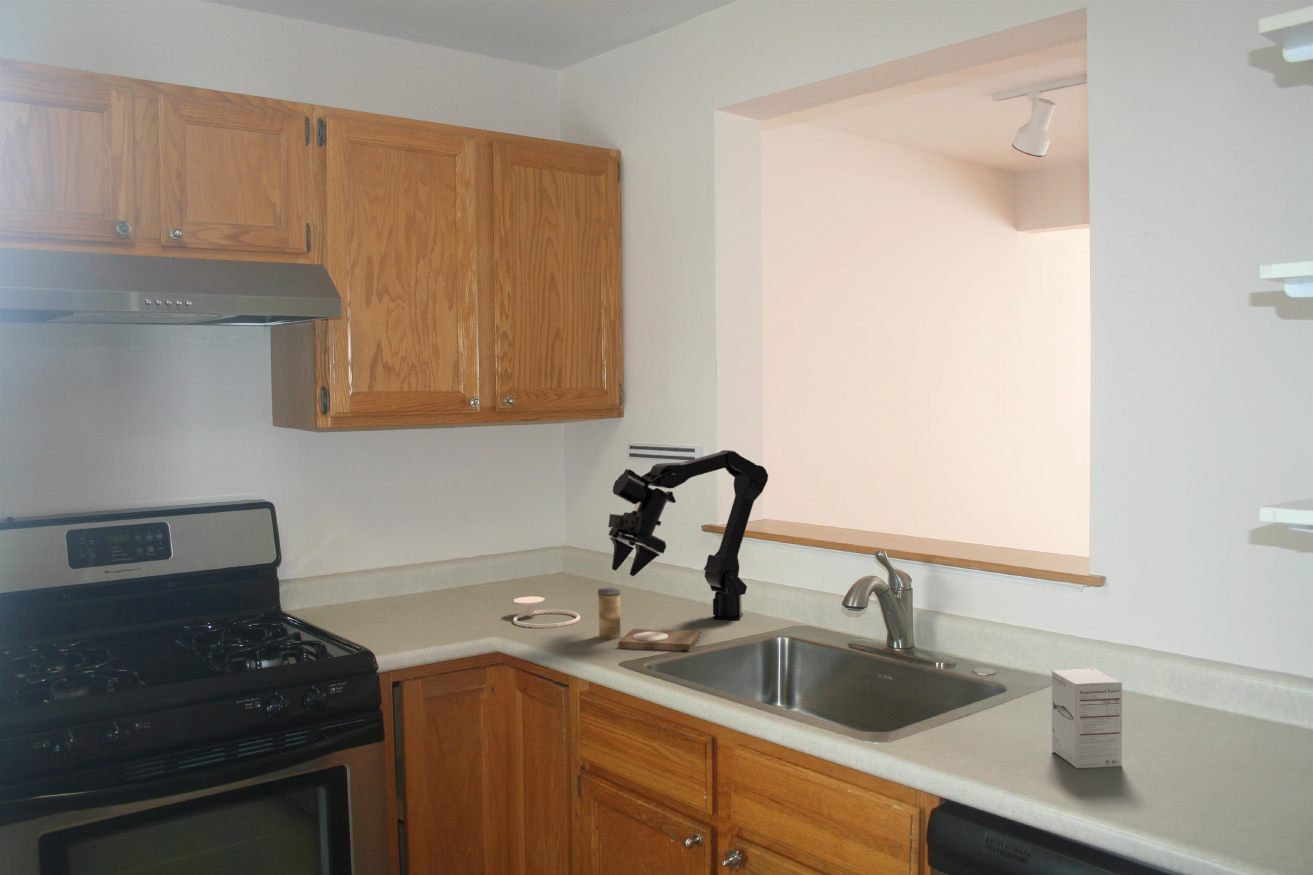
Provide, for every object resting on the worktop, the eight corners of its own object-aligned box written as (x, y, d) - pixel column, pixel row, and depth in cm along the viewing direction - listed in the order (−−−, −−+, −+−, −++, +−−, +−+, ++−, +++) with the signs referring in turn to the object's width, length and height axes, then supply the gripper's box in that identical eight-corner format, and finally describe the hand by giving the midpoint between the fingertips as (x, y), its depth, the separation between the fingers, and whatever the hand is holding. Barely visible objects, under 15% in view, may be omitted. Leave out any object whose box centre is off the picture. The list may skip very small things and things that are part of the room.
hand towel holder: (535, 615, 234) (492, 602, 250) (536, 633, 234) (492, 619, 250) (593, 604, 245) (547, 592, 260) (593, 621, 245) (548, 608, 261)
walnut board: (700, 637, 225) (700, 630, 224) (689, 650, 213) (689, 643, 213) (632, 635, 228) (632, 627, 228) (619, 647, 217) (618, 640, 217)
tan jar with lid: (623, 634, 229) (622, 587, 229) (617, 639, 224) (616, 592, 224) (602, 633, 231) (601, 587, 230) (596, 638, 226) (594, 591, 225)
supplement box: (1050, 751, 149) (1049, 669, 149) (1096, 748, 150) (1096, 667, 149) (1075, 769, 142) (1074, 683, 141) (1123, 766, 142) (1123, 681, 142)
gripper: (604, 495, 238) (578, 554, 235) (640, 501, 222) (612, 564, 219) (640, 514, 243) (615, 571, 240) (678, 521, 227) (651, 583, 224)
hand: (622, 572), depth 230 cm, fingers open, 9 cm apart
